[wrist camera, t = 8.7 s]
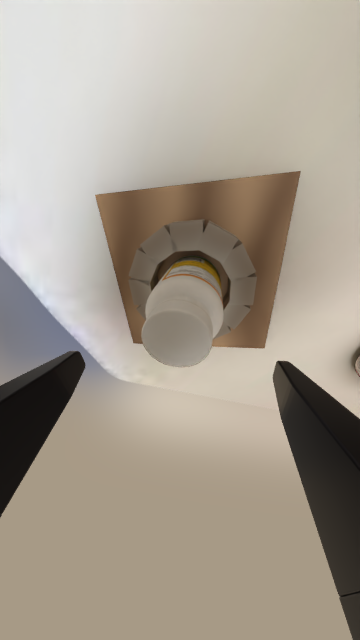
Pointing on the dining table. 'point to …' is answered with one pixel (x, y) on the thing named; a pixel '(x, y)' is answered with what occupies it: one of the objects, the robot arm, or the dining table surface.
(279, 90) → the dining table surface
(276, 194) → the collar board
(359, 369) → the soda can
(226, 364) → the dining table surface
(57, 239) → the dining table surface
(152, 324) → the supplement bottle
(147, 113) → the dining table surface
